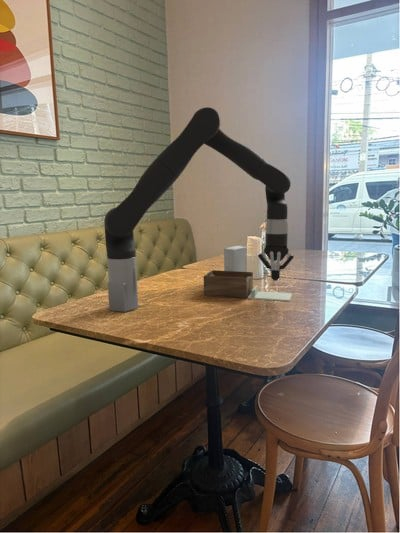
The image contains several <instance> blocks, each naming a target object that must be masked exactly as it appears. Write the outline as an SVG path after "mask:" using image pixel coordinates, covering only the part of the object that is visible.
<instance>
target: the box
mask: <svg viewBox="0 0 400 533" xmlns="http://www.w3.org/2000/svg"><path fill="white" fill-rule="evenodd" d="M253 276H254V272H253V271H247V272H239V271H224V270H217V269H214V270H213V269H212V270H210V271H209V272H207V273H206V274H205V275H203V296H204V297H218V298H233V299H248V297H249V295H250V294H251V293H252V289H253V288H254V287H253V286H254V284H253V283H254V279H253Z"/></svg>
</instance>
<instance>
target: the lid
mask: <svg viewBox="0 0 400 533" xmlns="http://www.w3.org/2000/svg"><path fill="white" fill-rule="evenodd" d="M253 286H254V287H253V289H252V293H251V294H250V295H249V296H248V297H247V299H248V300H250V299H251V300H262V301H277V302H279V301H280V302H291V298H292V296H293V292H280V291H279V292H277V291H276V292H275V291H259V285H258V284H256V285H253Z"/></svg>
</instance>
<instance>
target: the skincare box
mask: <svg viewBox="0 0 400 533" xmlns="http://www.w3.org/2000/svg"><path fill="white" fill-rule="evenodd" d="M223 262H224V263H223V264H224V265H223V268H224V269H223V271H239V272H248V267H247V266H248V247H247V246H244V245H233V246H230V247H224V248H223Z"/></svg>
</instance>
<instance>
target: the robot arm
mask: <svg viewBox="0 0 400 533" xmlns="http://www.w3.org/2000/svg"><path fill="white" fill-rule="evenodd" d="M220 127H221V117H220V114H219V112H218V111H217V110H216V109H214V108H212V107H202V108H200V109H198V110H197V111H195V112H194V114H193V116H192V117H191V118H190V120H189V122H188V124H186V126H185V127H184V129H183V130H182V131H181V133H180V134H179V135H178V136H177V137H176V138H175V139H174V140H173V141H172V142H171V143H170V144H169V145H168V146H167V147H166V148H165V149H163V151H162V152H160V154H159V155H158V156H157V157H156V158H155V159H154V160H153V161H152V162H151V164H150V165H149V166H148V167H147V168H146V170H145V171H144V172H143V173H142V175H141V177H140V178H139V179H138V181H137V183H136V185H135V186H134V188H133V190H132V191H131V192H130V193H129V194H128V195H127V196H126V198H125V199H123V201H122V202H120V204H118V205H117V206H116V207H113V208H111V209H110V210H108V211H107V212H106V214H105V215H104V219H103V220H104V237H105V249H106V258H107V259H106V260H107V274H108V276H107V277H108V279H107V280H108V282H107V295H108V296H107V297H108V310H109V311H112V312H123V313H126V312H128V311H133V310H136V309H138V308H139V294H138V278H137V277H138V276H137V273H138V272H137V255H136V254H137V252H136V247H135V239H134V237H135V236H134V231H135V229H136V227H137V226H138V225H139V222H140V221H141V220H142V218H143V217H144V216H145V214H146V213H147V211H148V210H149V209H150V208H151V207H152V206H153V205H154V204H155V203H156V202H157V201H158V200H160V198H161V197H162V196H163V194H165V193H166V192H167V191H168V190H169V188H171V186H172V185H173V184H174V183H175V182H176V181H177V179H179V177H180V176H181V174H182V173H184V172H183V171H184V170H185V169H187V168H186V167H187V166H188V165H189V163H190V162H191V160H192V159H193V157H194V156H195V154H196V153H197V152H198V151H199V149H200V148H201V147H202V146H203V145H206V146H208V147H209V148H212V149H213V150H214V151H216V152H218V153H219V154H220V155H222V156H224V157H225V158H227V159H228V160H229V161H231V162H232V163H234V165H236V166H238V168H240V169H241V170H243V172H244V173H246V174H247V175H249V176H250V177H251V178H252V179H254V180H256V181H259V182H261V183H262V184H263V185H265V187H264V191H265V199H266V208H267V209H266V222H265V247H264V248H263V251H262V252H260V253H259V254H257V257H258V259H259V260H260V261H261V263H262V264H263V265H264V266H265V268H266V269H269V270H270V271H271V272H270V275H271V276H270V277H271V280H272V281H275V282H277V281H278V280H279V279H280V278H281V277H280V273H281V270H284V269H285V268H286V267H287V266H288V265H289V264H290V263H291V262H292V260H293V259H294V258H295V255H294V254H292V253H291V252H290V251H289V248H288V233H289V226H288V225H289V223H288V204H287V203H286V196H285V194H286V193H287V192H288V191H289V190H290V189H291V184H292V183H291V180H290V177H289V176H288V175H287V174H286V173H285V172H284V171H282V170H280V169H279V168H278V167H275V165H272V164H271V163H269V162H268V161H267V160H265V159H264V158H263V157H262V156H261V155H260V154H258V153H257V152H255V151H254V150H253V149H251V148H250V147H248V146H246V145H244V144H242V143H240V142H237V141H236V140H234V139H233V138H231V137H230V136H228V135H227V134H226V133H225V132H223V131H222V130H221V128H220ZM266 257H267V258H268V259H269V261H270V262H269V261H268V259H267V258H266ZM284 258H286V261H284V262H283V264H282V261H283V259H284Z"/></svg>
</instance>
